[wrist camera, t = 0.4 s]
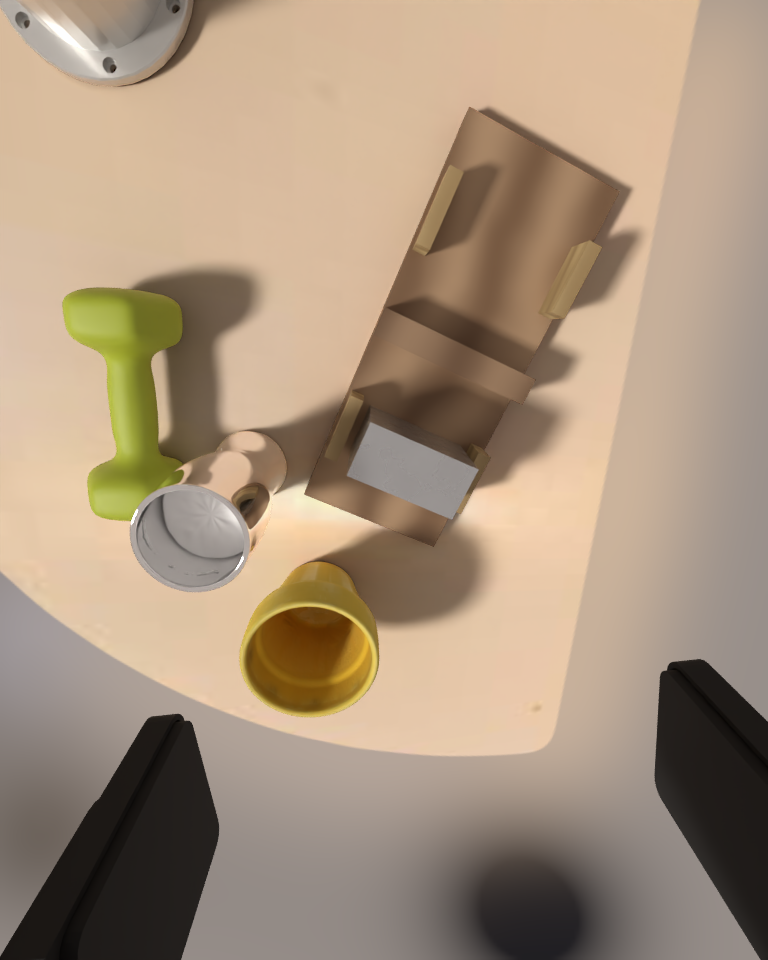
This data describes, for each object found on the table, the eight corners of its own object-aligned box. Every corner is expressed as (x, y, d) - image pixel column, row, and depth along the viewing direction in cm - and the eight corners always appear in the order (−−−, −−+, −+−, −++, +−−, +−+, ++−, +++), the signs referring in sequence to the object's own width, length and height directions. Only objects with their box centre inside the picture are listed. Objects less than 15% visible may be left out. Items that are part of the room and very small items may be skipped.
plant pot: (384, 632, 47) (388, 709, 38) (277, 648, 47) (255, 729, 38) (367, 534, 44) (367, 591, 34) (252, 551, 44) (222, 613, 35)
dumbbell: (208, 498, 42) (178, 532, 36) (113, 493, 42) (64, 527, 35) (198, 295, 37) (161, 289, 31) (91, 288, 37) (29, 280, 30)
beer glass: (299, 436, 41) (263, 497, 27) (283, 512, 43) (241, 607, 29) (215, 416, 40) (132, 467, 26) (203, 494, 42) (119, 581, 28)
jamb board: (306, 488, 42) (299, 507, 38) (465, 115, 34) (479, 85, 30) (431, 539, 44) (438, 562, 40) (609, 196, 36) (642, 179, 32)
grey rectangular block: (350, 450, 40) (346, 475, 33) (369, 405, 39) (370, 422, 32) (438, 487, 41) (452, 519, 34) (460, 445, 40) (478, 469, 33)
